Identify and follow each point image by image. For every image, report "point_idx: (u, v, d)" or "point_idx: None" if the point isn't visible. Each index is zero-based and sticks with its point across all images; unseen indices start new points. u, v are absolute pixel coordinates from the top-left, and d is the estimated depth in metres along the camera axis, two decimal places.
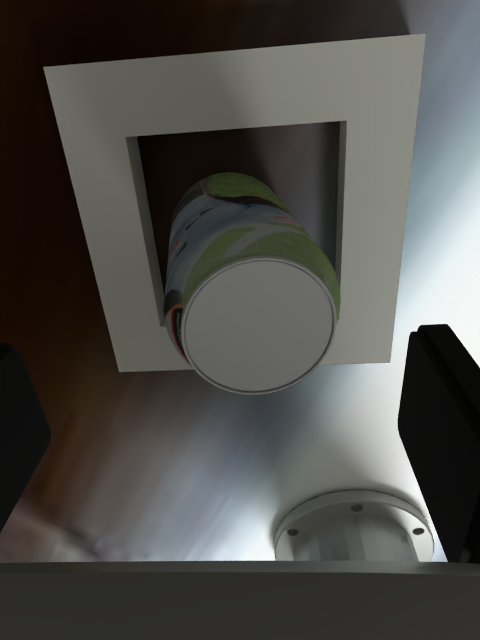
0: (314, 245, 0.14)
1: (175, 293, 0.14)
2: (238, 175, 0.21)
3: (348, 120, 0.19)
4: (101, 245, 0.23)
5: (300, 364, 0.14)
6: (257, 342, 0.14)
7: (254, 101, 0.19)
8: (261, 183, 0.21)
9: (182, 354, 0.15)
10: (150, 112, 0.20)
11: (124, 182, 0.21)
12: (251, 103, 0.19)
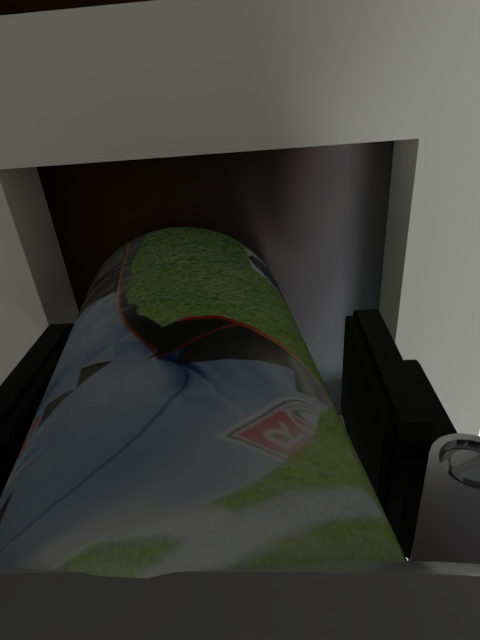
0: (366, 551, 0.05)
1: None
2: (195, 236, 0.11)
3: (420, 137, 0.10)
4: None
5: None
6: None
7: (238, 102, 0.10)
8: (238, 248, 0.12)
9: None
10: (37, 123, 0.10)
11: (6, 248, 0.12)
12: (233, 105, 0.10)
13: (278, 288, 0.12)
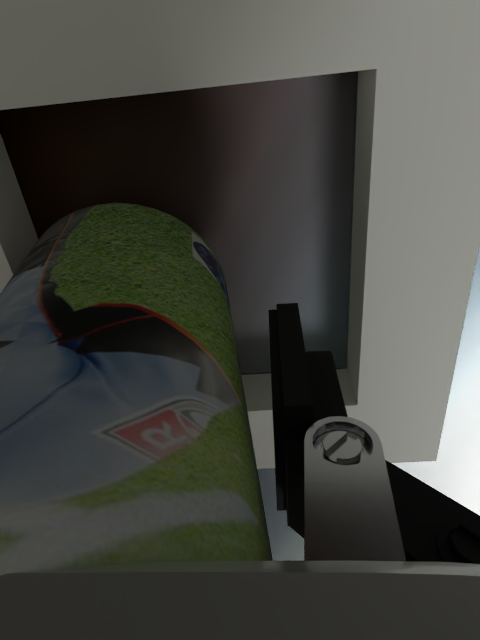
0: (215, 555, 0.05)
1: None
2: (140, 215, 0.11)
3: (377, 68, 0.10)
4: None
5: None
6: None
7: (189, 34, 0.09)
8: (183, 233, 0.12)
9: None
10: None
11: None
12: (184, 38, 0.09)
13: (220, 277, 0.12)
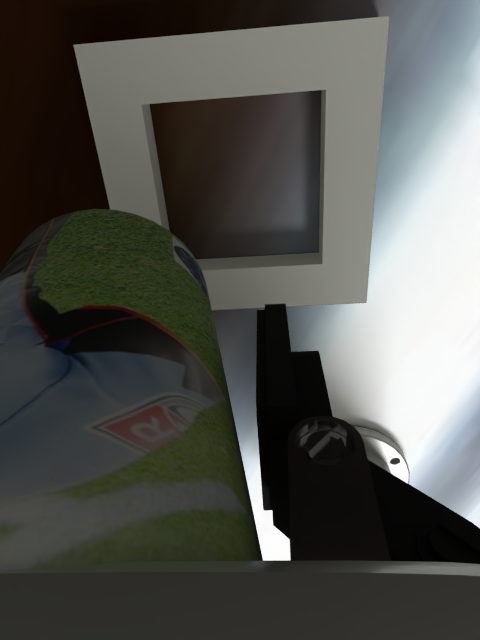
0: (205, 541, 0.05)
1: None
2: (121, 221, 0.11)
3: (326, 89, 0.23)
4: (119, 199, 0.27)
5: None
6: None
7: (249, 73, 0.23)
8: (163, 238, 0.12)
9: None
10: (162, 83, 0.23)
11: (140, 144, 0.25)
12: (246, 74, 0.23)
13: (201, 280, 0.12)
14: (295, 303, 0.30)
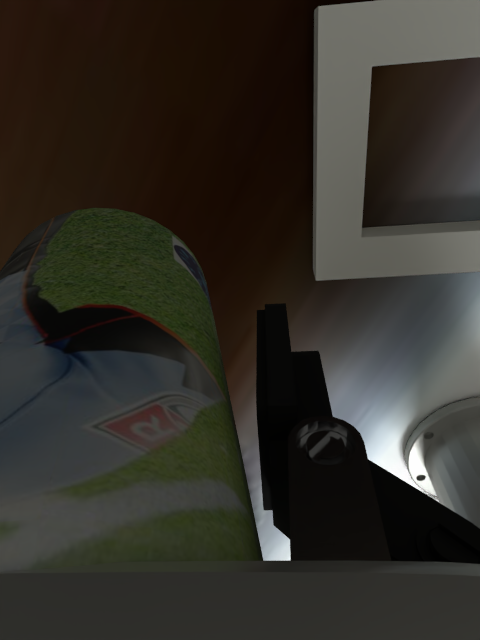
0: (206, 540, 0.05)
1: None
2: (121, 220, 0.11)
3: None
4: (328, 163, 0.27)
5: None
6: None
7: None
8: (163, 237, 0.12)
9: None
10: (397, 44, 0.24)
11: (361, 106, 0.26)
12: None
13: (201, 279, 0.12)
14: None
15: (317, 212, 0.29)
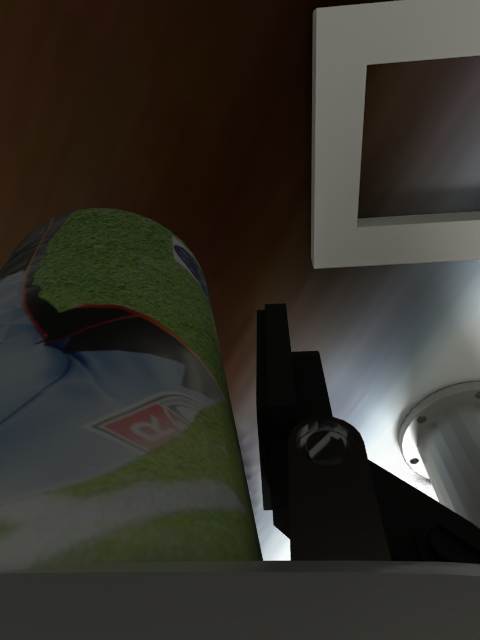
0: (205, 539, 0.05)
1: None
2: (120, 220, 0.11)
3: None
4: (326, 156, 0.29)
5: None
6: None
7: (473, 35, 0.25)
8: (163, 237, 0.12)
9: None
10: (391, 44, 0.26)
11: (357, 102, 0.27)
12: (471, 36, 0.25)
13: (201, 279, 0.12)
14: (469, 257, 0.32)
15: (315, 203, 0.30)
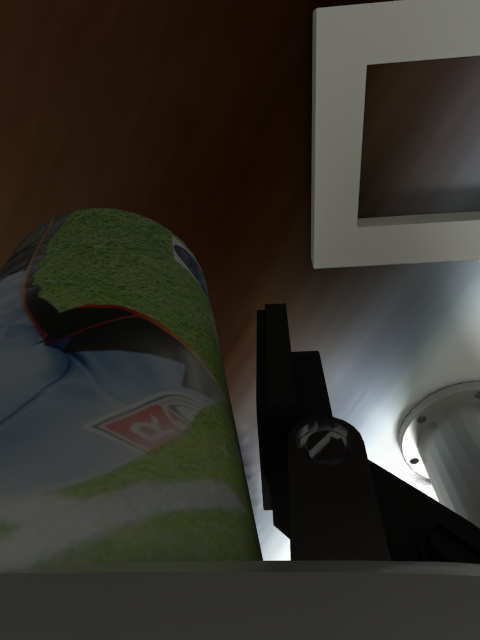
0: (205, 539, 0.05)
1: None
2: (120, 220, 0.11)
3: None
4: (326, 156, 0.29)
5: None
6: None
7: (473, 35, 0.25)
8: (163, 237, 0.12)
9: None
10: (391, 44, 0.26)
11: (357, 102, 0.27)
12: (471, 36, 0.25)
13: (201, 279, 0.12)
14: (469, 257, 0.32)
15: (315, 203, 0.30)
